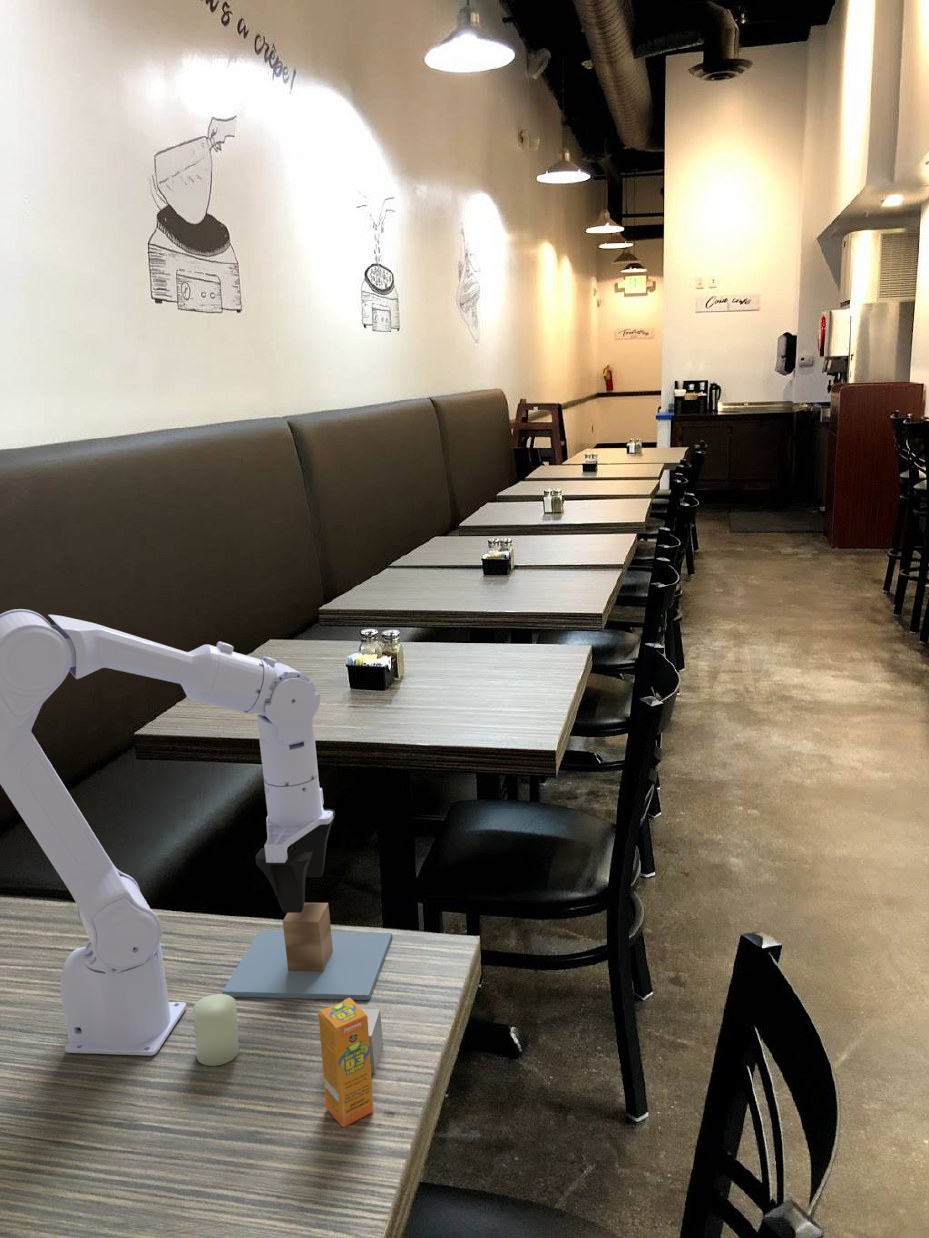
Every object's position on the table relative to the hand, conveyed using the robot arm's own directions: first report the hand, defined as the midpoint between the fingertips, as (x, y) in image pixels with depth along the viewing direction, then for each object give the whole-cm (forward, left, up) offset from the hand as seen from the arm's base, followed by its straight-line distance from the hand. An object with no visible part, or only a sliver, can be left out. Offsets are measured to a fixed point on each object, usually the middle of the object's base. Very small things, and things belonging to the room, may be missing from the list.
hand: (303, 892), depth 106 cm
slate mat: (0, 0, -9) cm, 9 cm away
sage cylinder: (-5, -15, -9) cm, 18 cm away
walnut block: (0, 0, -8) cm, 8 cm away
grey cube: (+9, -15, -9) cm, 20 cm away
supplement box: (+10, -22, -9) cm, 26 cm away
